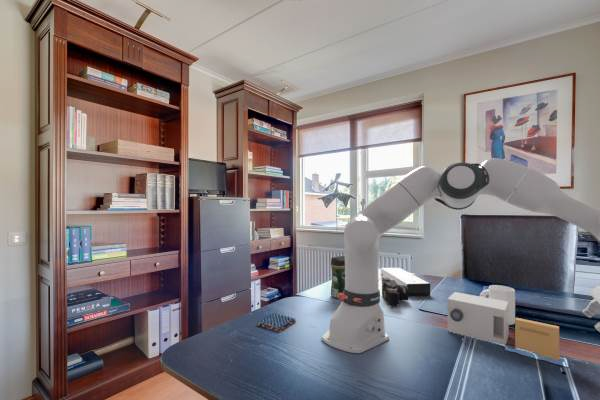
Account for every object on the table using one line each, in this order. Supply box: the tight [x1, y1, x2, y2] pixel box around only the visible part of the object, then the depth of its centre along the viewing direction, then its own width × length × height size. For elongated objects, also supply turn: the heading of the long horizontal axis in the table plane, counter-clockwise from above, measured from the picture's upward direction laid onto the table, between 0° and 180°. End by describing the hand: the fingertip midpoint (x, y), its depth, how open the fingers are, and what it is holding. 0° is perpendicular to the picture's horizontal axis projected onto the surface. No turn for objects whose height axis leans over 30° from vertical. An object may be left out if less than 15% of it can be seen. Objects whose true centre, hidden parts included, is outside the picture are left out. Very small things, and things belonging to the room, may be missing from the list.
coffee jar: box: [330, 255, 345, 299], centre depth 135 cm, size 10×8×19 cm
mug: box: [479, 284, 516, 326], centre depth 110 cm, size 8×12×12 cm
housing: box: [446, 291, 510, 345], centre depth 96 cm, size 12×16×11 cm
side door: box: [514, 317, 560, 360], centre depth 82 cm, size 2×10×9 cm, turn 50°
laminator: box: [380, 267, 431, 297], centre depth 152 cm, size 34×12×6 cm, turn 5°
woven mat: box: [257, 312, 297, 333], centre depth 104 cm, size 10×11×2 cm
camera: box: [381, 277, 410, 308], centre depth 128 cm, size 16×10×10 cm, turn 178°
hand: (591, 322), depth 75 cm, fingers open, 8 cm apart
